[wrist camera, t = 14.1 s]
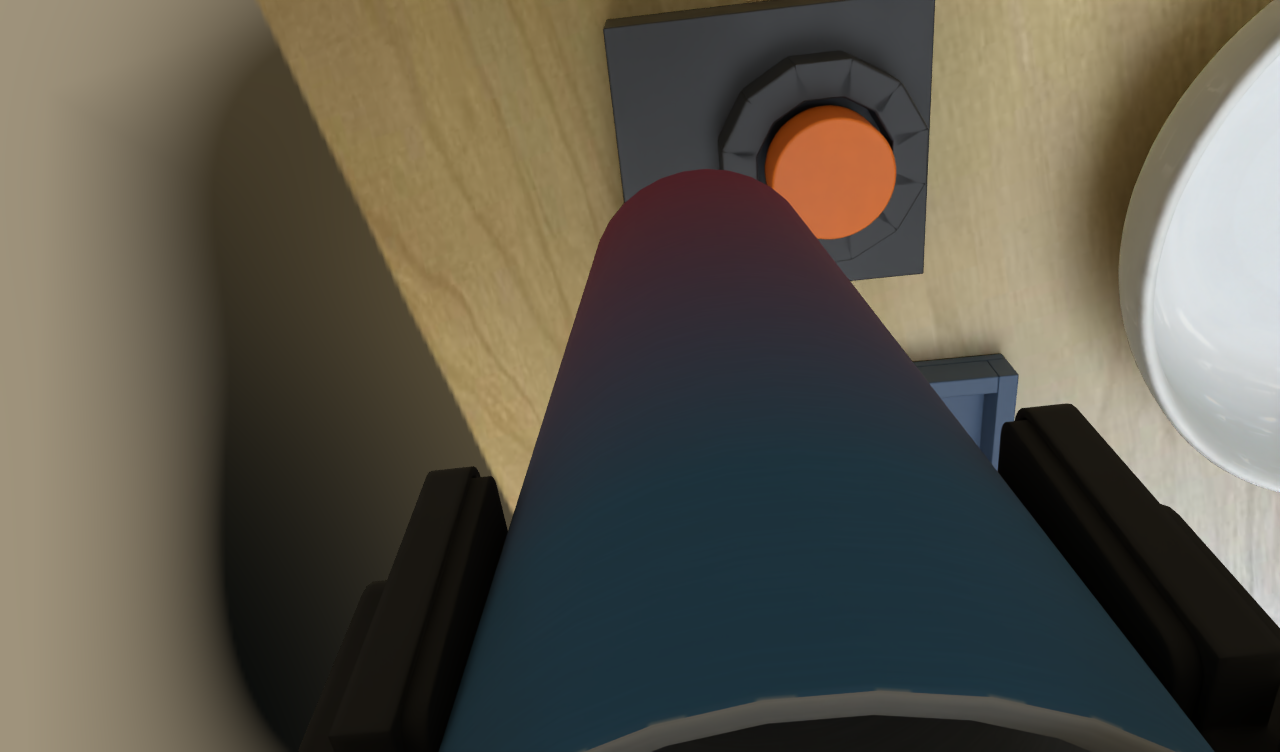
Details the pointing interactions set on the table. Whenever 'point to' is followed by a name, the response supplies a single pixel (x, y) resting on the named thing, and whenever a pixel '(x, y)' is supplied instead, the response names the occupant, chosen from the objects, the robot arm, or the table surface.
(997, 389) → the tray
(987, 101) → the table surface
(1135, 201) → the serving bowl
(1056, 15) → the table surface
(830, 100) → the push button box
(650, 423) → the cup
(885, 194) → the orange push button
